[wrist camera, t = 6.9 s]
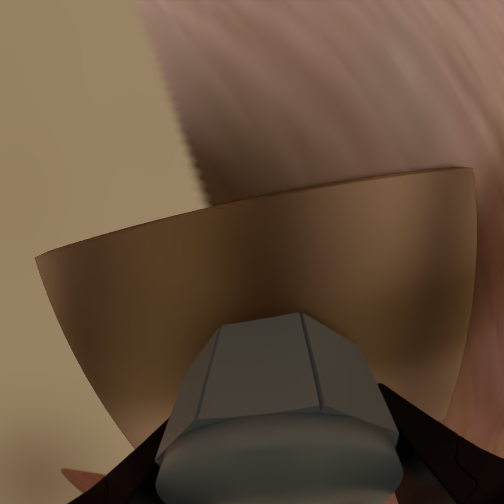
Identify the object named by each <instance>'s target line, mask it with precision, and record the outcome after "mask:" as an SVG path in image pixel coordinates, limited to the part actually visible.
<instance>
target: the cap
mask: <svg viewBox="0 0 504 504" xmlns="http://www.w3.org/2000/svg"><path fill="white" fill-rule="evenodd" d="M398 437H399V432H398V430H397V427H396V425H395V423H394V420H393V418H392V416H391V414H390V411H389V409H388V407H387V405H386V402H385V400H384V398H383V396H382V394H381V391H380V389H379V387H378V385H377V383H376V381H375V378H374V376H373V374H372V372H371V370H370V368H369V366H368V364H367V362H366V360H365V357H364V355H363V353H362V351H361V349H360V348H359V346H358V345H357V344H355V343H353V342H352V341H350V340H348V339H346V338H345V337H343V336H341V335H340V334H338V333H336V332H334V331H333V330H331V329H329V328H328V327H326V326H324V325H323V324H321V323H319V322H318V321H316V320H314V319H313V318H311V317H309V316H308V315H306V314H304V313H302V315H301V316H300V314H299V312H297V313H292V314H287V315H281V316H276V317H270V318H264V319H258V320H252V321H246V322H240V323H233V324H227V325H222V327H221V328H220V327H219V328H218V329H217V330H216V332H215V333H214V335H213V336H212V337H211V339H210V340H209V341H208V343H207V344H206V346H205V347H204V348H203V350H202V351H201V352H200V354H199V355H198V357H197V358H196V359H195V361H194V362H193V363H192V365H191V366H190V368H189V369H188V370H187V372H186V373H185V376H184V379H183V382H182V384H181V387H180V390H179V393H178V395H177V398H176V401H175V404H174V406H173V409H172V412H171V415H170V418H169V421H168V423H167V426H166V429H165V432H164V435H163V438H162V440H161V443H160V446H159V449H158V452H157V455H156V458H155V460H156V461H155V462H156V463H157V464H158V466H159V467H160V470H159V473H158V476H157V479H156V491H157V494H158V495H159V497H160V498H161V500H162V501H163V502H164V503H165V504H381V503H383V502H384V501H385V500H386V499H388V498H389V497H390V496H391V495H392V494H393V493H394V492H395V490H396V489H397V488H398V486H399V485H400V483H401V481H402V477H403V468H402V466H401V463H400V460H399V458H398V455H397V452H396V450H395V448H396V445H397V441H398Z"/></svg>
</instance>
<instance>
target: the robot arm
mask: <svg viewBox="0 0 504 504" xmlns="http://www.w3.org/2000/svg"><path fill="white" fill-rule="evenodd" d="M377 385H378V387H379V389H380V391H381V394H382V396H383V398H384V400H385V402H386V405H387V407H388V409H389V411H390V414H391V416H392V418H393V420H394V423H395V425H396V427H397V430H398V432H399V437H398V441H397V445H396V448H395V450H396V452H397V455H398V458H399V460H400V463H401V466H402V468H403V477H402V481H401V483H400V485H399V486H398V488H397V489H396V490H395V495H396V498H397V500H398V503H399V504H504V459H503V458H500V457H498V456H496V455H494V454H491V453H489V452H487V451H485V450H483V449H481V448H479V447H478V446H476V445H474V444H473V443H471V442H469V441H468V440H466V439H464V438H463V437H461V436H458V434H457V433H455V432H453V431H452V430H450V429H449V428H447V427H446V426H444V425H443V424H441V423H440V422H438V421H437V420H435V419H434V418H432V417H431V416H429V415H428V414H426V413H425V412H423V411H422V410H420V409H419V408H418V407H416V406H415V405H413V404H412V403H410V402H409V401H407V400H406V399H404V398H403V397H401V396H400V395H399V394H397V393H396V392H394V391H393V390H391V389H390V388H389V387H387V386H386V385H384V384H383V383H378V384H377ZM169 418H170V417H169ZM169 418H168V419H167V420H166V421H165V422H164V423H163V424H162V425H161V426H160V427H158V428H157V429H156V430H155V431H154V432H153V433H152V434H151V435H150V436H149V437H148V438H147V439H146V440H145V441H144V442H143V443H141V444H140V445H139V446H138V447H137V448H136V449H135V450H134V451H133V452H132V453H131V454H129V455H128V456H127V457H126V458H125V459H124V460H123V461H122V462H121V463H119V464H118V465H117V466H116V467H115V468H114V469H113V470H111V471H110V472H109V473H108V474H107V475H106V476H104V477H103V478H102V479H101V480H100V481H99V482H97V483H96V484H95V485H94V486H92V487H91V488H90V489H89V490H87V491H86V492H84V493H83V494H81V495H80V496H79V497H77V498H75V499H74V500H72V501H71V502H69V503H68V504H165V503H164V502H163V501H162V500H161V498H160V497H159V495H158V494H157V491H156V479H157V476H158V473H159V470H160V467H159V466H158V464H157V463H156V462H155V461H156V460H155V458H156V455H157V452H158V449H159V446H160V443H161V440H162V438H163V435H164V432H165V429H166V426H167V423H168V421H169Z"/></svg>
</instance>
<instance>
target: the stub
mask: <svg viewBox="0 0 504 504" xmlns="http://www.w3.org/2000/svg"><path fill="white" fill-rule="evenodd" d="M476 252H477V215H476V195H475V183H474V173H473V168H469V167H450V168H440V169H431V170H422V171H414V172H406V173H398V174H390V175H383V176H376V177H369V178H362V179H356V180H349V181H343V182H337V183H331V184H325V185H319V186H313V187H308V188H302V189H297V190H291V191H286V192H281V193H275V194H270V195H265V196H260V197H255V198H251V199H246V200H241V201H236V202H232V203H227V204H222V205H218V206H213V207H209V208H205V209H200V210H196V211H192V212H188V213H184V214H179V215H175V216H171V217H167V218H163V219H159V220H155V221H151V222H147V223H144V224H140V225H136V226H132V227H129V228H125V229H121V230H118V231H114V232H110V233H107V234H103V235H100V236H97V237H93V238H90V239H86V240H83V241H79V242H76V243H73V244H69V245H66V246H63V247H60V248H57V249H54V250H51V251H48V252H46V253H44V254H42V255H39V256H37V257H35V260H36V263H37V267H38V270H39V273H40V275H41V278H42V281H43V284H44V287H45V290H46V291H47V295H48V297H49V300H50V302H51V305H52V307H53V310H54V312H55V315H56V317H57V319H58V322H59V324H60V326H61V328H62V330H63V333H64V335H65V337H66V339H67V341H68V343H69V345H70V347H71V349H72V351H73V353H74V355H75V357H76V358H77V361H78V363H79V364H80V366H81V368H82V370H83V372H84V374H85V375H86V377H87V379H88V381H89V382H90V384H91V385H92V387H93V389H94V391H95V392H96V394H97V396H98V397H99V399H100V400H101V402H102V404H103V405H104V407H105V408H106V410H107V411H108V413H109V414H110V415H111V417H112V418H113V420H114V421H115V423H116V424H117V426H118V427H119V429H120V430H121V431H122V433H123V434H124V435H125V437H126V438H127V439H128V441H129V442H130V443H131V445H132V446H133V447H134V448H135V449H136V448H137V447H138V446H139V445H140V444H141V443H143V442H144V441H145V440H146V439H147V438H148V437H149V436H150V435H151V434H152V433H153V432H154V431H155V430H156V429H157V428H158V427H160V426H161V425H162V424H163V423H164V422H165V421H166V420H167V419H168V418H169V417H170V415H171V412H172V409H173V406H174V404H175V401H176V398H177V395H178V393H179V390H180V387H181V384H182V382H183V379H184V376H185V373H186V372H187V370H188V369H189V368H190V366H191V365H192V363H193V362H194V361H195V359H196V358H197V357H198V355H199V354H200V352H201V351H202V350H203V348H204V347H205V346H206V344H207V343H208V341H209V340H210V339H211V337H212V336H213V335H214V333H215V332H216V330H217V329H218V328H219V327H220V328H221V327H222V325H227V324H233V323H240V322H246V321H252V320H258V319H264V318H270V317H276V316H281V315H287V314H292V313H297V312H299V314H300V316H301V315H302V313H304V314H306V315H308V316H309V317H311V318H313V319H314V320H316V321H318V322H319V323H321V324H323V325H324V326H326V327H328V328H329V329H331V330H333V331H334V332H336V333H338V334H340V335H341V336H343V337H345V338H346V339H348V340H350V341H352V342H353V343H355V344H357V345H358V346H359V348H360V349H361V351H362V353H363V355H364V357H365V360H366V362H367V364H368V366H369V368H370V370H371V372H372V374H373V376H374V378H375V381H376V383H377V384H378V383H383V384H384V385H386V386H387V387H389V388H390V389H391V390H393V391H394V392H396V393H397V394H399V395H400V396H401V397H403V398H404V399H406V400H407V401H409V402H410V403H412V404H413V405H415V406H416V407H418V408H419V409H420V410H422V411H423V412H425V413H426V414H428V415H429V416H431V417H432V418H434V419H435V420H437V421H440V420H442V419H445V417H446V414H447V411H448V408H449V405H450V402H451V399H452V396H453V392H454V389H455V386H456V382H457V379H458V375H459V371H460V367H461V363H462V359H463V354H464V350H465V345H466V340H467V335H468V329H469V323H470V317H471V310H472V302H473V294H474V284H475V271H476Z"/></svg>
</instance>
